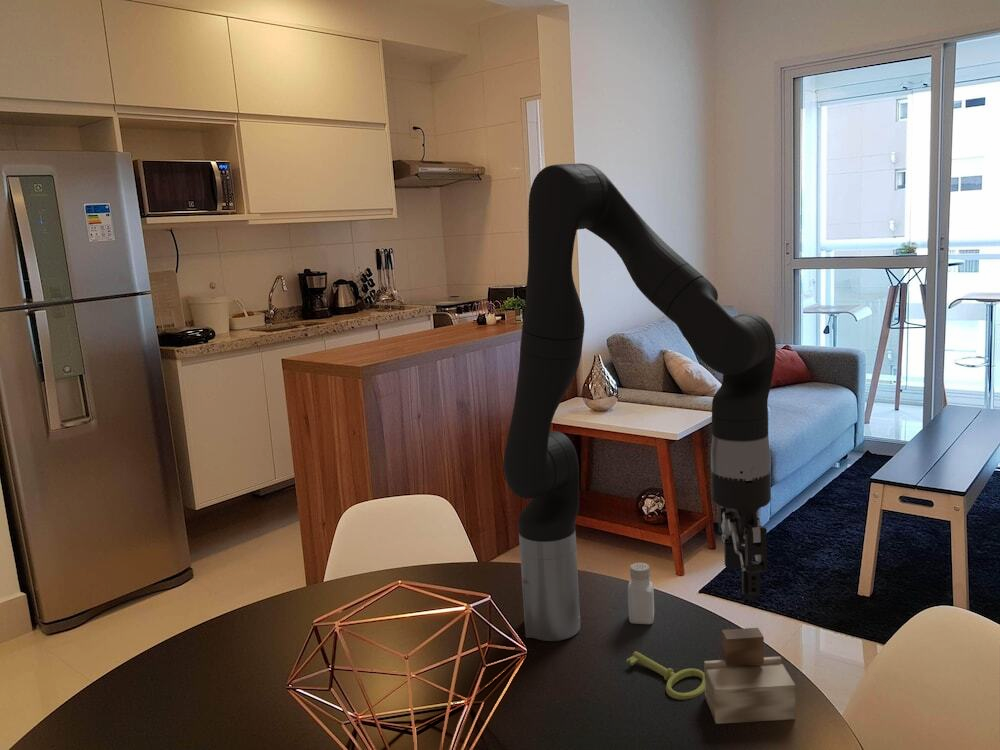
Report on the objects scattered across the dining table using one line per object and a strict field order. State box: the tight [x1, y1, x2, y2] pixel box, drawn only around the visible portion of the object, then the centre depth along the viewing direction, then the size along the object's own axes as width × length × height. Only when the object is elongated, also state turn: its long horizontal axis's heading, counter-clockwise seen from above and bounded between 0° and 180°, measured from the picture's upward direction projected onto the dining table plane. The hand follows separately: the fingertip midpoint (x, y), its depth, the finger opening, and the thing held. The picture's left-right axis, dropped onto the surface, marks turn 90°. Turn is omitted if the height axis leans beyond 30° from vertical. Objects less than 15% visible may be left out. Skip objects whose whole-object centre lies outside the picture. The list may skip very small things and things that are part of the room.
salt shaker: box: [627, 562, 655, 625], centre depth 136 cm, size 4×4×10 cm
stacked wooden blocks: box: [703, 627, 783, 698], centre depth 111 cm, size 10×6×9 cm, turn 90°
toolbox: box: [705, 663, 796, 725], centre depth 110 cm, size 10×5×5 cm, turn 90°
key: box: [626, 651, 705, 700], centre depth 119 cm, size 7×12×2 cm, turn 60°
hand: (742, 581), depth 110 cm, fingers open, 8 cm apart
